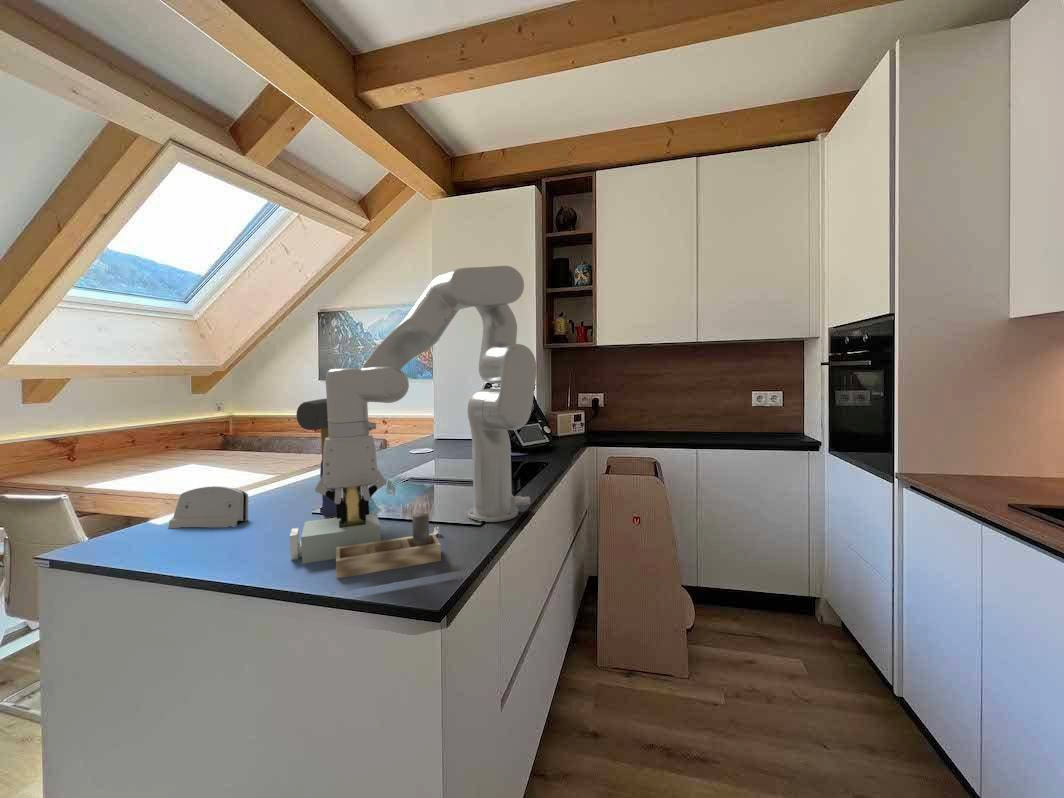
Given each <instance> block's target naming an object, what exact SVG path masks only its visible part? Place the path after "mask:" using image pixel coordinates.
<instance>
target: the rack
mask: <svg viewBox="0 0 1064 798" xmlns="http://www.w3.org/2000/svg"><path fill="white" fill-rule="evenodd" d="M429 516H430V515H429V513H427V512H418V513H413V515H412V516H411V517H412V535H411V536H402V537H398V538H396V537H395V538H391V539H383V540H381V541H376V542H369V543H362V544H355V545H348V546H341V547H336V559H335V568H336V579H341V578H347V577H353V576H360V575H366V574H371V573H378V572H383V571H388V570H393V569H395V570H396V569H402V568H406V567H411V566H419V565H425V564H431V563H436V562H442V549H441V548H442V547H441V546H442V545H441V543H440V540H438V537H436V535H435V534H434V533H433V532H432V533H430V521H429V520H430V519H429Z"/></svg>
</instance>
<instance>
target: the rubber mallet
mask: <svg viewBox="0 0 1064 798" xmlns="http://www.w3.org/2000/svg"><path fill="white" fill-rule="evenodd" d="M296 420H297V423H298V425H299V426H300V427H301V428H302V429H304V430H307V431H313V430H315V431H316V430H317V431H318V430H320V438H321V439H320V440H321V462H320V470H319V471H320V472H319V473H320V477H319V478H320V479H321V477H322V475H323V450H324V442H325V438H327V437H329V432H328V414H327V398H320V399H315V400H309V401H304V402H302V403H301V404H299V406H298V408H297V409H296ZM320 479H319V480H320ZM328 489H329V488H328ZM331 490H332V491H334V492H335V489H331ZM321 496H322V499H321V500H322V505H321V514H322V516H323V518H324V517H326V518H325V519H329V517H333V518H335V517H337V509H336V504H335V502H334V501H332V500H331V499H330V498H328V497H327V496H325V495H322V494H321ZM334 516H335V517H334Z"/></svg>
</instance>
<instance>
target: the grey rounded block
mask: <svg viewBox="0 0 1064 798" xmlns="http://www.w3.org/2000/svg"><path fill="white" fill-rule="evenodd" d="M247 520H249V494H248V493H247V492H245V491H243V490H241V489H237V488H234V487H228V486H220V485H219V486H212V485H211V486H204V487H198V488H194V489H193V488H192V489H191V490H187V491H185V492H182V493H181V494H180V495H179V498H178V501H177V504H176V508H175V511H174V514H173V517H172V518H170V520H169V521H168V522H169V523H168V529H178V528H177V527H209V528H226V527H225V526H236V527H237V526H238V522H247Z"/></svg>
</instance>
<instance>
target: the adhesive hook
mask: <svg viewBox="0 0 1064 798" xmlns="http://www.w3.org/2000/svg"><path fill="white" fill-rule="evenodd" d="M432 533H434V534H435V536H436V538H439V537H440V527H439V526H435V527H434V531H432Z"/></svg>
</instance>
